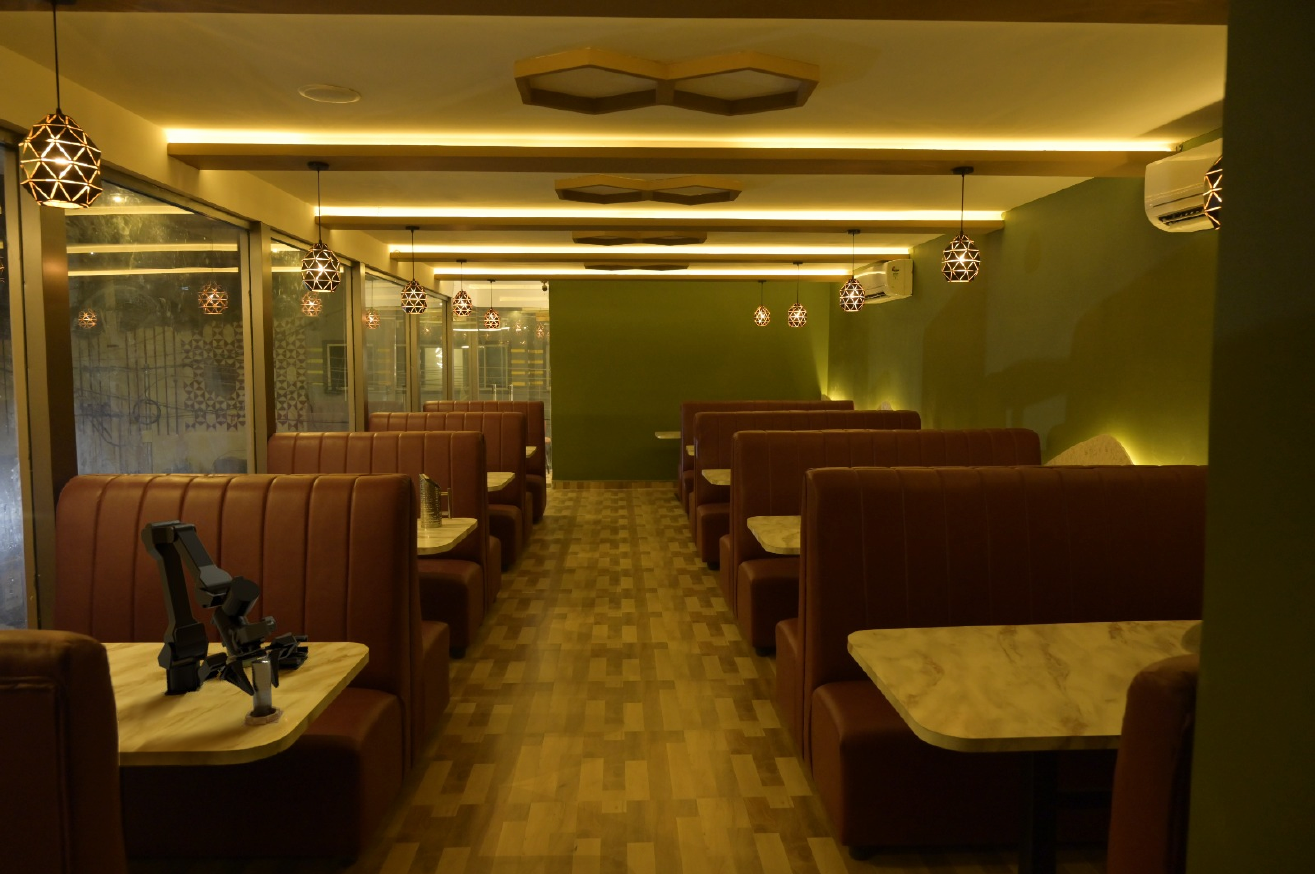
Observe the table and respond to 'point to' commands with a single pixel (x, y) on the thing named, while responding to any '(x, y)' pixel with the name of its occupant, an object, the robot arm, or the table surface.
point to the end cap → (295, 655)
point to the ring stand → (263, 720)
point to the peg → (261, 687)
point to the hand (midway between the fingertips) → (265, 690)
